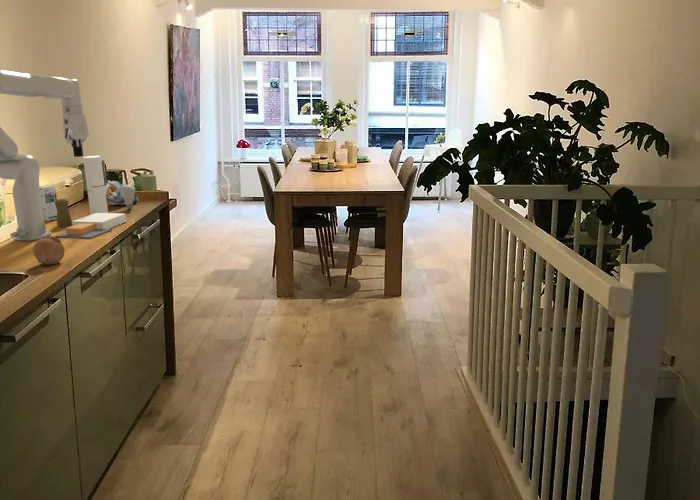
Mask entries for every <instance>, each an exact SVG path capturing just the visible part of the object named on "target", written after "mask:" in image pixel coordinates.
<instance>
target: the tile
mask: <svg viewBox="0 0 700 500" xmlns="http://www.w3.org/2000/svg"><path fill="white" fill-rule="evenodd" d="M94 230H96V223H79V224H76V225H73V226H68V227H65V232H66V233H67V234H72V235H83V234H86V233H88V232H91V231H94Z"/></svg>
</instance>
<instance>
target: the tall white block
mask: <svg viewBox="0 0 700 500" xmlns="http://www.w3.org/2000/svg"><path fill="white" fill-rule="evenodd" d="M82 160H83V167H84V174H85V182H86V190H87V195H88V197H87V198H88V204H89V211H90V215H91V214H94V213H109V210H108V201H107V197H106V193H105V185H104V181H105V179H104V170H103V165H102V163H103V162H102V157H101V155H87V156H82Z"/></svg>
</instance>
